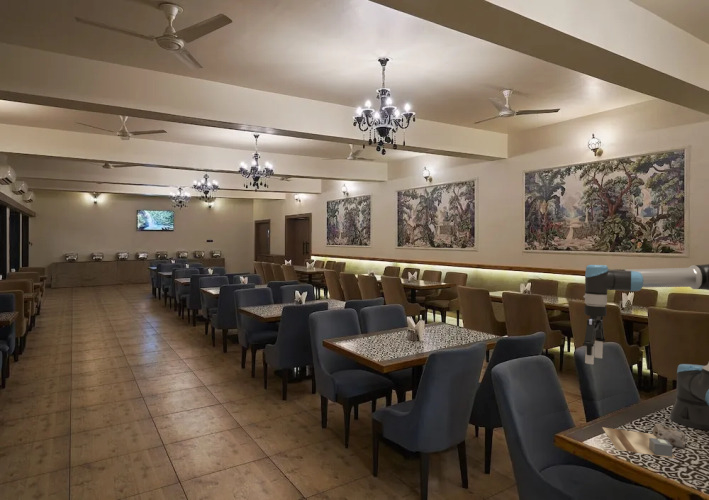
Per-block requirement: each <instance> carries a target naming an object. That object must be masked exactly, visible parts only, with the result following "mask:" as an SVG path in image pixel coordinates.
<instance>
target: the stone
mask: <svg viewBox="0 0 709 500" xmlns="http://www.w3.org/2000/svg"><path fill="white" fill-rule="evenodd" d="M651 434H653V435H655V436H656V437H657V439H663V440H667V441H668V442H669V443H670V444H671V445H672V446H673V447H675V448H680V449H684V448H685V445H686V444H687V441H686V435H685V432H683V431H682V430H681V429H678V428H674V427H670V426H665V425H662V424H659V423H655V424H654V426H653V430H652V433H651Z"/></svg>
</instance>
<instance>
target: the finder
mask: <svg viewBox="0 0 709 500" xmlns="http://www.w3.org/2000/svg"><path fill="white" fill-rule="evenodd" d="M673 448H674V446H672V445H671V444H670V443H669V442H668V441H667V440H663V439H655V438H649V449H650V450H651V451H652V452H653V453H654V454H655V455H654V456H657V455H662V456H661V457H663V456H669V457H668V458H670V457H672V454H673Z"/></svg>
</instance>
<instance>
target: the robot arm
mask: <svg viewBox="0 0 709 500" xmlns="http://www.w3.org/2000/svg"><path fill="white" fill-rule="evenodd" d="M584 278H585V279H584V281H585V282H584V295H583V296H582V297H583V299H584V304H585V305H584V307H583V308H584V309H583V310H584V312H583V313H584V315H585V316H588V317H589V318H587V319H586V327H585V335H584V339H583V340H584V341H583V343H582V346H584V347H585V351H584V352H585V356H584V363H585V364H587V365H594V363H595V361H594V360H595V358H596V359H603V353H604V351H603V350H604V342H606V338H605V331H604V330H605V329H604V317H607V315H608V314H607V310H608V308H607V305H608V291H623V292H639V291H641V290H642V289H643V288H691V289H692V290H703V291H704V290H706V291H709V263H708V264H707V263H705V264H692V265H690V266H689V267H672V268H671V267H667V268H666V267H665V268H662V267H660V268H629V269H627V268H625V269H621V268H620V269H616V268H615V269H610V268H609V267H608V265H605V264H587V266H586V267H585V275H584ZM675 396H676V397H675V402H674V404H673V406H672V409H671V411H670V415H669V416H670V420H671V421H673V422H675V423H677V424H679V425H682V426H685V427H688V428H692V429H698V430H702V431H703V430H706V431H709V362H708V363H707V364H706V365H701V364H691V363H680V364H679V365H677V371H676V395H675Z"/></svg>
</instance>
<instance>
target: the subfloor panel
mask: <svg viewBox="0 0 709 500" xmlns="http://www.w3.org/2000/svg"><path fill="white" fill-rule="evenodd" d="M601 429H603V432H605V435H606V436H607V438H608V439H609V440H610V441H611V443H612V445H613V446H614V448H615V449H616V451H624V452H630V453H636V454H637V453H638V454H645V455H652V456H657V457H663V458H664V457H665V458H670V459H671V458H673V459H677V457H676V455H674V454H673V453H672V457H669V456H662V455H655V454H654V453H653V452H652V451H651V450H650V449H649V438H655V439H657V436H656V435H653V434H652V433H649V432H648V433H647V432H640V431H634V430H627V429H626V430H625V429H617V428H611V427H603V426H602V427H601Z"/></svg>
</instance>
